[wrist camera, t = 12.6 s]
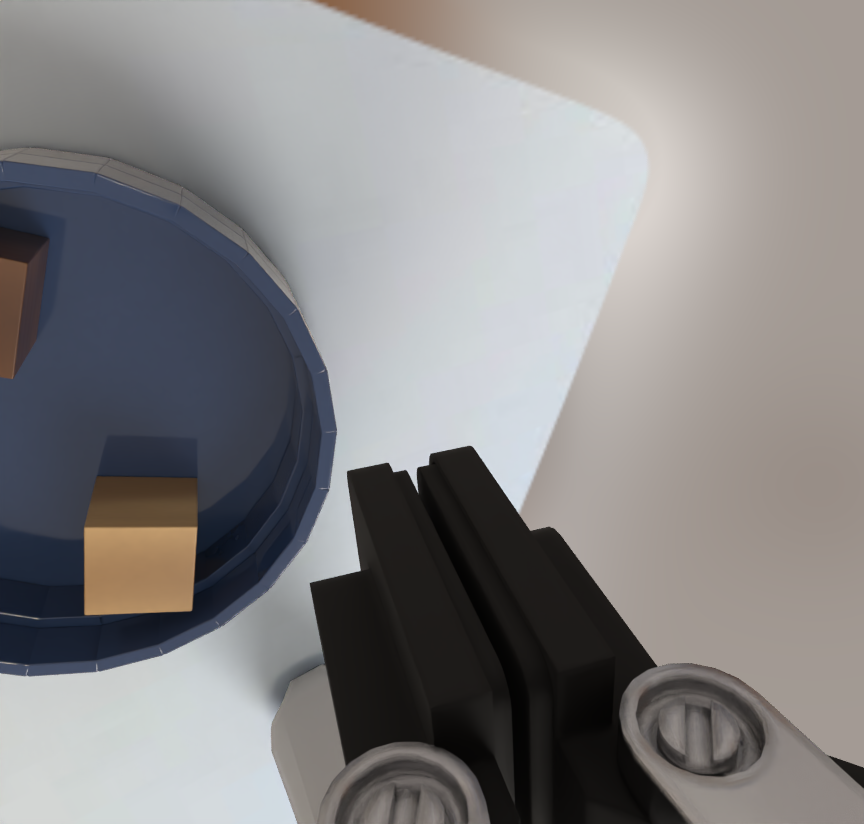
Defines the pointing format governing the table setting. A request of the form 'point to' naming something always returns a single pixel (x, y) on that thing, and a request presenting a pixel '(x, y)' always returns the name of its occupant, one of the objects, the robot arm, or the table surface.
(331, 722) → the salt shaker
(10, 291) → the walnut block
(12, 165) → the bowl
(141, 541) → the maple block
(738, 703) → the robot arm
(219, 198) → the table surface
